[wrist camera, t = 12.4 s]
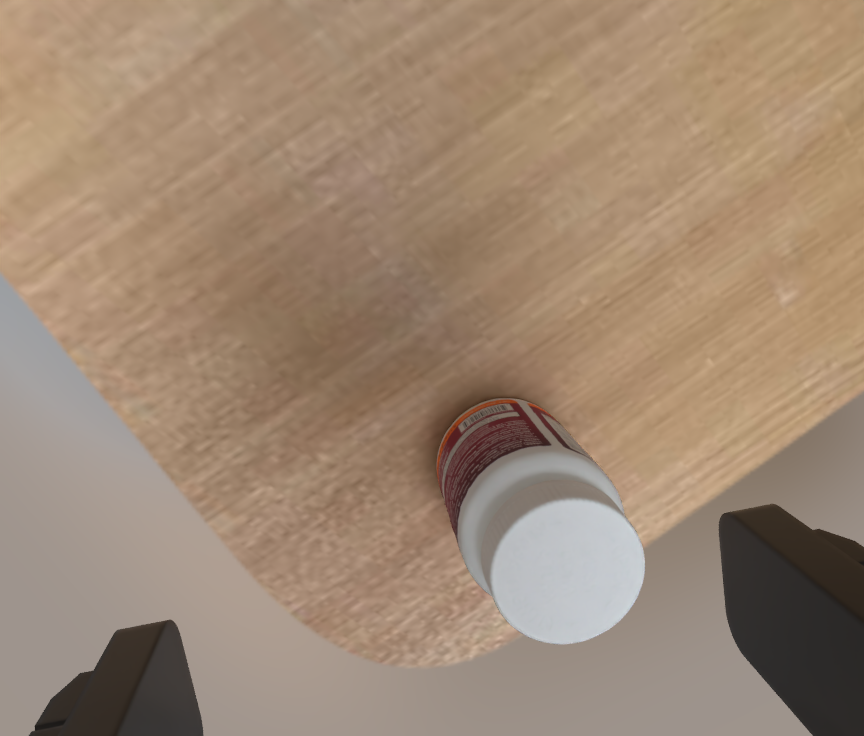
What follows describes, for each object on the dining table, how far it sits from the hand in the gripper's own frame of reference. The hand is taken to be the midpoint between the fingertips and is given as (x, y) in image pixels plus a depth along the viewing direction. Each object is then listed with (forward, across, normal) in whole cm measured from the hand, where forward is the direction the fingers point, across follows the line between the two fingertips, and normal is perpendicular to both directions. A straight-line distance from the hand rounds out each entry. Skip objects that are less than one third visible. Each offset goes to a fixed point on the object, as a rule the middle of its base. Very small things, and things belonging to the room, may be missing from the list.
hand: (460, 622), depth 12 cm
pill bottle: (+24, -4, +6) cm, 25 cm away
